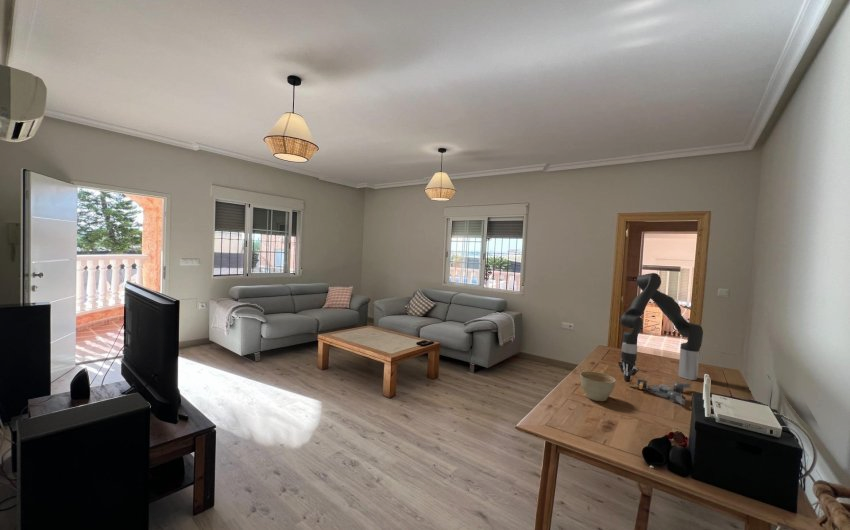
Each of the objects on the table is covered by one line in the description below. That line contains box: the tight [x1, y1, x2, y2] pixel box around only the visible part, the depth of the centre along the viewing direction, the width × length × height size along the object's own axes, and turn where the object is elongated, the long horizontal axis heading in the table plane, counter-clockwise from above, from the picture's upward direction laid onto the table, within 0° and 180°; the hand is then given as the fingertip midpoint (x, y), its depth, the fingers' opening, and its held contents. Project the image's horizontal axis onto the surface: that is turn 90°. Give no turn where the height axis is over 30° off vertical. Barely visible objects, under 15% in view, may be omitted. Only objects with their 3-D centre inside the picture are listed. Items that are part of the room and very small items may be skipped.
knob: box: [669, 391, 686, 406], centre depth 177 cm, size 10×4×3 cm, turn 170°
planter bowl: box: [579, 370, 617, 402], centre depth 180 cm, size 16×16×11 cm
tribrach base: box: [641, 383, 683, 404], centre depth 191 cm, size 21×19×4 cm
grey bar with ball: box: [673, 381, 691, 392], centre depth 194 cm, size 10×4×3 cm, turn 110°
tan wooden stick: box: [636, 378, 648, 390], centre depth 194 cm, size 10×4×3 cm, turn 144°
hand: (627, 381), depth 199 cm, fingers closed
